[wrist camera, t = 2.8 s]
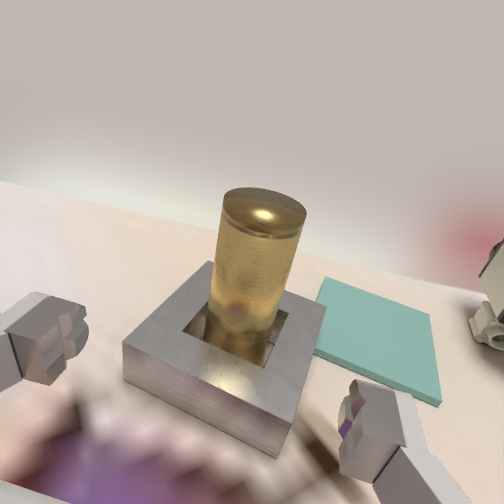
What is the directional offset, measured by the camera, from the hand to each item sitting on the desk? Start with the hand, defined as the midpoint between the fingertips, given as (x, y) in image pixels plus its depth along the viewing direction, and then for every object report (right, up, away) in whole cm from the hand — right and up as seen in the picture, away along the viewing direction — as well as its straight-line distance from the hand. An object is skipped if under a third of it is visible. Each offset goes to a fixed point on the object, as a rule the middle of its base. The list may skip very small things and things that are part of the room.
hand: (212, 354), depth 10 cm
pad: (+13, -5, +23) cm, 27 cm away
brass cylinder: (-1, -6, +18) cm, 19 cm away
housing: (-1, -6, +18) cm, 19 cm away
